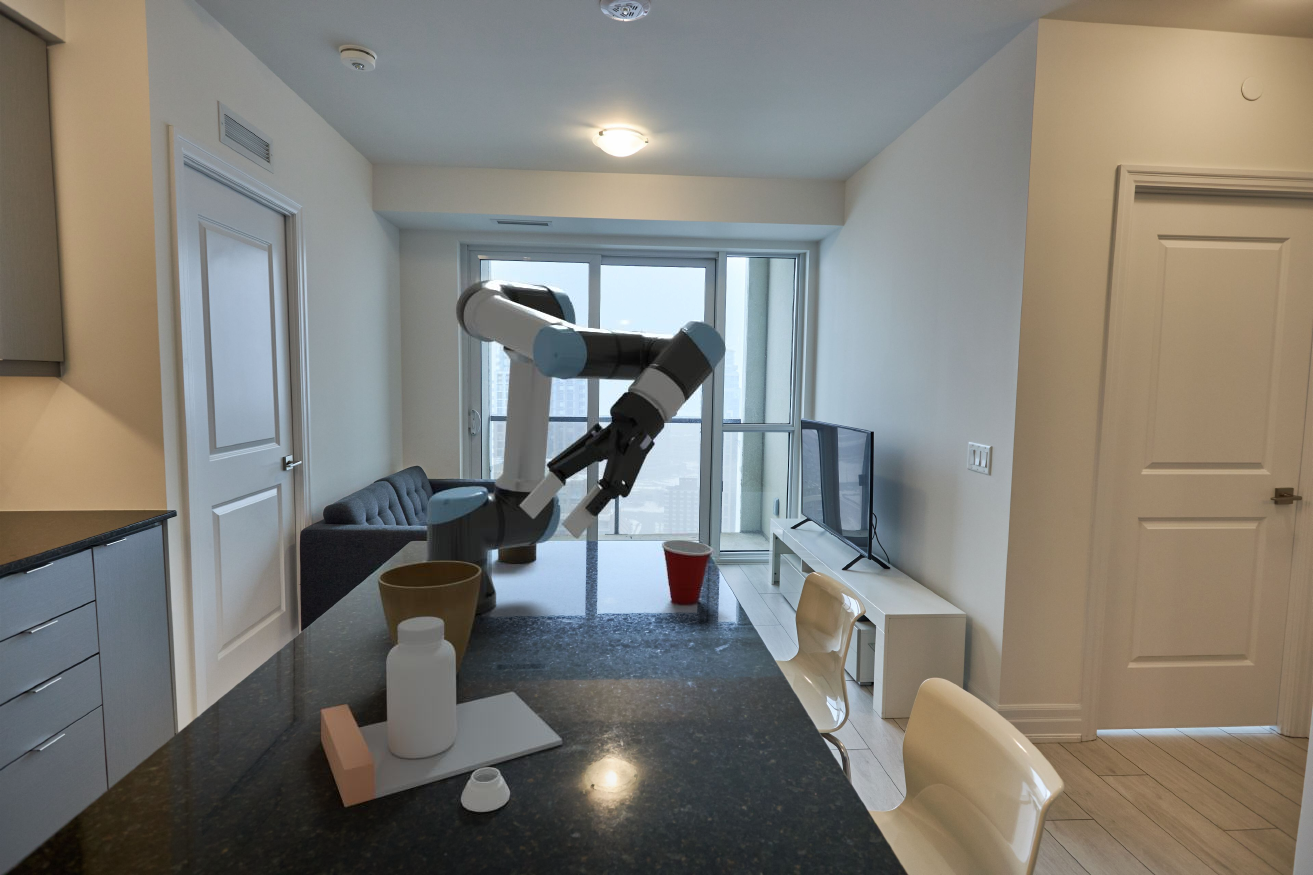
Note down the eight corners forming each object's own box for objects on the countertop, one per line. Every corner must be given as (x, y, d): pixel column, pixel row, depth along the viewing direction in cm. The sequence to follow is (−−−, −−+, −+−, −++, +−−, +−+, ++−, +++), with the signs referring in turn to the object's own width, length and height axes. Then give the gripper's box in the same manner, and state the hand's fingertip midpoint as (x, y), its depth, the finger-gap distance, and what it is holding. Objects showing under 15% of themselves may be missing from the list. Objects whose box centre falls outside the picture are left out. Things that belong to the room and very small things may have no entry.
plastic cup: (708, 611, 140) (709, 552, 139) (655, 606, 142) (656, 548, 141) (714, 595, 151) (716, 540, 150) (665, 591, 153) (666, 537, 152)
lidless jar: (457, 816, 72) (506, 814, 73) (457, 788, 72) (506, 787, 72) (466, 788, 77) (512, 787, 78) (466, 762, 77) (512, 761, 77)
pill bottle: (397, 728, 89) (397, 612, 88) (462, 727, 89) (462, 612, 88) (377, 761, 81) (377, 634, 80) (448, 760, 81) (448, 634, 80)
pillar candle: (532, 564, 174) (533, 504, 173) (493, 563, 174) (494, 503, 173) (539, 555, 183) (540, 498, 182) (502, 554, 183) (503, 497, 183)
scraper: (321, 740, 86) (320, 709, 86) (512, 695, 100) (513, 668, 100) (344, 806, 73) (344, 770, 73) (562, 744, 87) (562, 712, 86)
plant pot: (451, 649, 117) (451, 555, 116) (499, 676, 106) (500, 573, 105) (361, 673, 106) (361, 570, 105) (405, 706, 96) (404, 592, 95)
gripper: (714, 433, 90) (610, 560, 83) (617, 420, 111) (528, 521, 104) (682, 391, 87) (570, 520, 80) (588, 386, 108) (494, 488, 101)
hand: (546, 521), depth 92 cm, fingers open, 13 cm apart
